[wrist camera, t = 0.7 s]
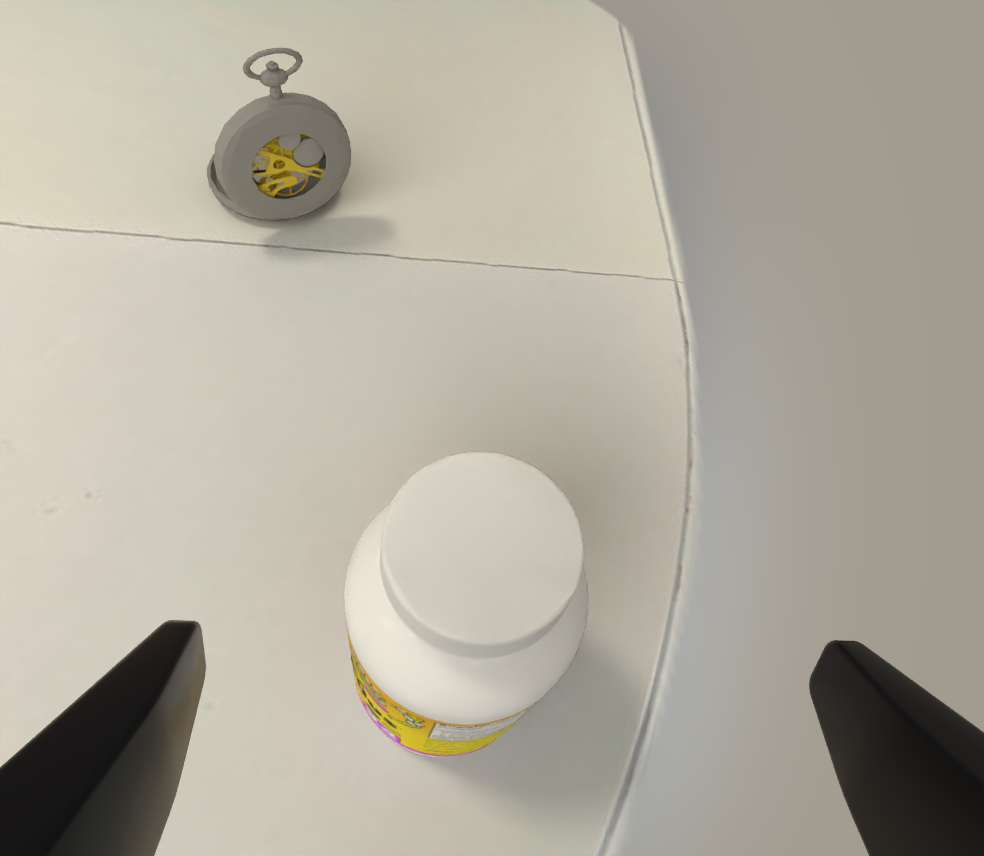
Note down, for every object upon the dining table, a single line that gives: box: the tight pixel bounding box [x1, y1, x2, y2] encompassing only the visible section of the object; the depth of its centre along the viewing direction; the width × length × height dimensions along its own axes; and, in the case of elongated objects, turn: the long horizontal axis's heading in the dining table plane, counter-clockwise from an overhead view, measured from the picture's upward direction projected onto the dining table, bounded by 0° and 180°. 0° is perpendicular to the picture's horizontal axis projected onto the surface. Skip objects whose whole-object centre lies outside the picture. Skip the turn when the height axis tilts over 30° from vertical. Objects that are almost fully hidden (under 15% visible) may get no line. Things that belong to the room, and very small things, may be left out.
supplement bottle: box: [344, 452, 588, 757], centre depth 21 cm, size 7×7×13 cm
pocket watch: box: [207, 48, 351, 220], centre depth 34 cm, size 8×8×10 cm
